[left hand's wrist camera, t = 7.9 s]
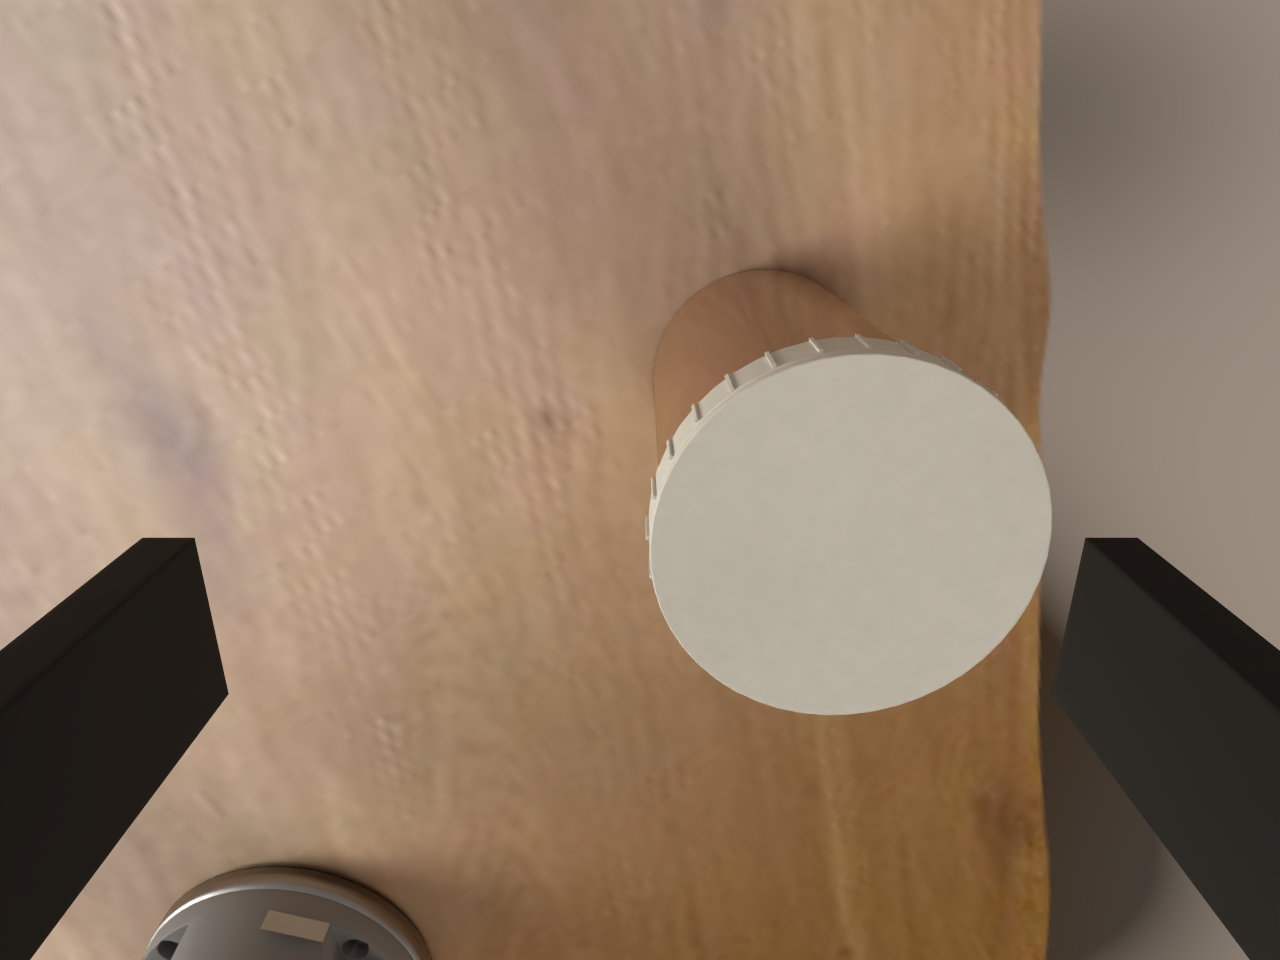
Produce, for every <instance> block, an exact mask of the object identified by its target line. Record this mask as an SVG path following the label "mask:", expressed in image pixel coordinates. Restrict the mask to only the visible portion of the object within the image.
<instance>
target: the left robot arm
mask: <svg viewBox="0 0 1280 960" xmlns="http://www.w3.org/2000/svg"><path fill="white" fill-rule="evenodd" d="M227 695H228V689H227V685H226V680H225V676H224V671H223V666H222V662H221V657H220V653H219V648H218V644H217V639H216V634H215V630H214V625H213V621H212V616H211V611H210V607H209V602H208V598H207V593H206V589H205V584H204V579H203V575H202V570H201V566H200V561H199V556H198V552H197V547H196V543H195V538H142V539H140V540H139V541H138V542H137V543H135V544H134V545H133V546H132V547H130V548H129V549H128V550H127V551H125V552H124V553H123V554H122V555H120V556H119V557H118V558H117V559H115V560H114V561H113V562H111V563H110V564H109V565H108V566H106V567H105V568H104V569H103V570H101V571H100V572H99V573H98V574H96V575H95V576H94V577H93V578H91V579H90V580H89V581H88V582H86V583H85V584H84V585H82V586H81V587H80V588H79V589H77V590H76V591H75V592H74V593H72V594H71V595H70V596H69V597H67V598H66V599H65V600H64V601H62V602H61V603H60V604H59V605H57V606H56V607H55V608H54V609H52V610H51V611H50V612H48V613H47V614H46V615H45V616H43V617H42V618H41V619H40V620H38V621H37V622H36V623H35V624H33V625H32V626H31V627H30V628H28V629H27V630H26V631H25V632H23V633H22V634H21V635H20V636H18V637H17V638H16V639H14V640H13V641H12V642H11V643H9V644H8V645H7V646H6V647H4V648H3V649H2V650H1V651H0V960H30V959H31V958H32V956H33V955H34V954H35V952H36V951H37V950H38V948H39V947H40V946H41V944H42V943H43V942H44V940H45V939H46V938H47V936H48V935H49V934H50V932H51V931H52V930H53V928H54V927H55V926H56V924H57V923H58V922H59V920H60V919H61V918H62V916H63V915H64V914H65V912H66V911H67V910H68V908H69V907H70V906H71V904H72V903H73V902H74V900H75V899H76V898H77V896H78V895H79V894H80V892H81V891H82V889H83V888H84V887H85V885H86V884H87V883H88V881H89V880H90V879H91V877H92V876H93V875H94V873H95V872H96V871H97V869H98V868H99V867H100V865H101V864H102V863H103V861H104V860H105V859H106V857H107V856H108V855H109V853H110V852H111V851H112V849H113V848H114V847H115V845H116V844H117V843H118V841H119V840H120V839H121V837H122V836H123V835H124V833H125V832H126V831H127V829H128V828H129V827H130V825H131V824H132V823H133V821H134V820H135V819H136V817H137V816H138V814H139V813H140V812H141V810H142V809H143V808H144V806H145V805H146V804H147V802H148V801H149V800H150V798H151V797H152V796H153V794H154V793H155V792H156V790H157V789H158V788H159V786H160V785H161V784H162V782H163V781H164V780H165V778H166V777H167V776H168V774H169V773H170V772H171V770H172V769H173V768H174V766H175V765H176V764H177V762H178V761H179V760H180V758H181V757H182V756H183V754H184V753H185V752H186V750H187V749H188V748H189V746H190V745H191V743H192V742H193V741H194V739H195V738H196V737H197V735H198V734H199V733H200V731H201V730H202V729H203V727H204V726H205V725H206V723H207V722H208V721H209V719H210V718H211V717H212V715H213V714H214V713H215V711H216V710H217V709H218V707H219V706H220V705H221V703H222V702H223V701H224V699H225V698H226V697H227ZM1052 695H1053V697H1054V698H1055V699H1056V701H1057V702H1058V703H1059V705H1060V706H1061V707H1062V709H1063V710H1064V711H1065V713H1066V714H1067V715H1068V717H1069V718H1070V719H1071V721H1072V722H1073V723H1074V725H1075V726H1076V727H1077V729H1078V730H1079V731H1080V733H1081V734H1082V735H1083V737H1084V738H1085V739H1086V741H1087V742H1088V743H1089V745H1090V746H1091V747H1092V749H1093V750H1094V752H1095V753H1096V754H1097V756H1098V757H1099V758H1100V759H1101V761H1102V762H1103V764H1104V765H1105V766H1106V768H1107V769H1108V770H1109V772H1110V773H1111V774H1112V776H1113V777H1114V778H1115V780H1116V781H1117V782H1118V784H1119V785H1120V786H1121V788H1122V789H1123V790H1124V792H1125V793H1126V794H1127V796H1128V797H1129V798H1130V800H1131V801H1132V802H1133V804H1134V805H1135V806H1136V808H1137V809H1138V810H1139V812H1140V813H1141V814H1142V816H1143V817H1144V819H1145V820H1146V821H1147V823H1148V824H1149V825H1150V827H1151V828H1152V829H1153V831H1154V832H1155V833H1156V834H1157V836H1158V837H1159V839H1160V840H1161V841H1162V843H1163V844H1164V845H1165V847H1166V848H1167V849H1168V851H1169V852H1170V853H1171V855H1172V856H1173V857H1174V859H1175V860H1176V861H1177V863H1178V864H1179V865H1180V867H1181V868H1182V869H1183V871H1184V872H1185V873H1186V875H1187V876H1188V877H1189V879H1190V880H1191V881H1192V883H1193V884H1194V885H1195V887H1196V888H1197V889H1198V891H1199V892H1200V894H1201V895H1202V896H1203V897H1204V899H1205V900H1206V902H1207V903H1208V904H1209V906H1210V907H1211V908H1212V910H1213V911H1214V912H1215V914H1216V915H1217V916H1218V918H1219V919H1220V920H1221V922H1222V923H1223V924H1224V926H1225V927H1226V928H1227V930H1228V931H1229V932H1230V934H1231V935H1232V936H1233V938H1234V939H1235V940H1236V942H1237V943H1238V944H1239V946H1240V947H1241V948H1242V950H1243V951H1244V952H1245V954H1246V955H1247V956H1248V958H1249V959H1250V960H1280V651H1279V650H1278V649H1277V648H1276V647H1274V646H1273V645H1272V644H1271V643H1269V642H1268V641H1267V640H1266V639H1264V638H1263V637H1262V636H1260V635H1259V634H1258V633H1257V632H1255V631H1254V630H1253V629H1252V628H1250V627H1249V626H1248V625H1247V624H1245V623H1244V622H1243V621H1242V620H1240V619H1239V618H1238V617H1237V616H1235V615H1234V614H1233V613H1231V612H1230V611H1229V610H1228V609H1226V608H1225V607H1224V606H1223V605H1221V604H1220V603H1219V602H1218V601H1216V600H1215V599H1214V598H1213V597H1211V596H1210V595H1209V594H1208V593H1206V592H1205V591H1204V590H1203V589H1201V588H1200V587H1199V586H1198V585H1196V584H1195V583H1194V582H1192V581H1191V580H1190V579H1189V578H1187V577H1186V576H1185V575H1184V574H1182V573H1181V572H1180V571H1179V570H1177V569H1176V568H1175V567H1174V566H1172V565H1171V564H1170V563H1169V562H1167V561H1166V560H1165V559H1164V558H1162V557H1161V556H1160V555H1158V554H1157V553H1156V552H1155V551H1153V550H1152V549H1151V548H1150V547H1148V546H1147V545H1146V544H1145V543H1143V542H1142V541H1141V540H1140V539H1138V538H1085V543H1084V547H1083V552H1082V557H1081V561H1080V566H1079V570H1078V575H1077V579H1076V584H1075V589H1074V593H1073V598H1072V602H1071V607H1070V612H1069V616H1068V621H1067V625H1066V630H1065V635H1064V639H1063V644H1062V648H1061V653H1060V657H1059V662H1058V666H1057V671H1056V676H1055V680H1054V685H1053V689H1052ZM142 960H431V957H430V954H429V951H428V949H427V947H426V945H425V943H424V941H423V939H422V938H421V936H420V935H419V933H418V931H417V930H416V929H415V928H414V926H413V925H412V924H411V923H410V922H409V921H408V920H407V918H406V917H405V916H404V915H403V914H402V913H400V912H399V911H398V910H397V909H396V908H395V907H393V906H392V905H391V904H389V903H388V902H387V901H385V900H384V899H383V898H381V897H379V896H378V895H376V894H374V893H373V892H371V891H369V890H367V889H365V888H363V887H361V886H359V885H357V884H355V883H352V882H350V881H347V880H345V879H342V878H339V877H336V876H333V875H330V874H326V873H322V872H318V871H313V870H307V869H301V868H291V867H258V868H250V869H243V870H238V871H233V872H230V873H226V874H223V875H220V876H217V877H214V878H212V879H210V880H207V881H205V882H203V883H201V884H199V885H198V886H196V887H194V888H193V889H191V890H190V891H188V892H187V893H186V894H184V895H183V896H182V897H181V898H180V899H179V900H178V901H177V902H176V903H175V904H174V905H173V906H172V907H171V908H170V910H169V911H168V913H167V914H166V916H165V917H164V919H163V920H162V922H161V924H160V925H159V927H158V929H157V930H156V932H155V934H154V935H153V937H152V939H151V941H150V942H149V944H148V946H147V949H146V952H145V954H144V957H143V959H142Z"/></svg>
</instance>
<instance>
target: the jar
mask: <svg viewBox="0 0 1280 960" xmlns="http://www.w3.org/2000/svg"><path fill="white" fill-rule="evenodd" d="M855 334H860V335H861V336H862V337H866V338H875V339H884V340H889V341H893V342H896V341H894V340H893V339H892V338H890V337H889V336H888V335H886V334H885V333H884V332H882V331H881V330H880V329H879V328H877V327H876V326H875V325H873V324H872V323H871V322H869V321H868V320H867V319H865V318H864V317H863V316H861V315H860V314H859V313H857V312H856V311H855V310H853V309H852V308H851V307H850V306H848V305H847V304H846V303H844V302H843V301H842V300H840V299H839V298H838V297H836V296H835V295H834V294H832V293H831V292H830V291H828V290H827V289H826V288H824V287H823V286H821V285H820V284H818V283H816V282H814V281H813V280H811V279H808V278H806V277H803V276H801V275H798V274H794V273H790V272H786V271H780V270H771V269H767V270H751V271H744V272H739V273H736V274H733V275H729V276H726V277H724V278H722V279H719V280H717V281H715V282H713V283H711V284H709V285H708V286H706V287H704V288H703V289H701V290H700V291H699V292H697V293H696V294H695V295H694V296H692V297H691V298H690V299H689V300H688V301H687V302H686V303H685V304H684V305H683V306H682V307H681V308H680V309H679V310H678V311H677V313H676V314H675V315H674V317H673V318H672V319H671V321H670V322H669V324H668V326H667V328H666V330H665V331H664V333H663V335H662V338H661V340H660V343H659V345H658V349H657V353H656V357H655V361H654V369H653V392H654V407H655V422H656V438H657V453H658V467H659V465H660V462H661V460H662V457H663V455H664V453H665V450H666V448H667V443H666V442H667V440H668V439H672V438H673V436H674V434H675V433H676V431H677V429H678V428H679V426H680V425H681V423H682V422H683V421H684V420H685V418H686V417H687V416H688V414H689V413H690V412H691V411H692V408H691V406H692V405H693V404H695V405H697V404H698V403H699V402H700V401H701V400H702V399H703V398H704V397H705V396H706V395H707V394H708V393H709V392H710V391H711V390H712V389H713V388H714V387H716V386H717V385H718V384H720V383H721V382H722V381H724V380H725V377H724V376H725V375H726V374H729V376H730V375H731V374H733V373H734V372H736V371H738V370H739V369H741V368H743V367H744V366H746V365H748V364H750V363H751V362H753V361H755V360H757V359H759V358H761V357H763V356H765V352H767V351H769V353H770V354H771V353H773V352H775V351H778V350H780V349H783V348H786V347H790V346H793V345H797V344H800V343H804V342H807V341H809V338H814V339H815V340H820V339H827V338H834V337H855Z"/></svg>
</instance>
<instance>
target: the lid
mask: <svg viewBox="0 0 1280 960" xmlns="http://www.w3.org/2000/svg"><path fill="white" fill-rule="evenodd" d="M962 370H963V369H962V368H960V367H959V366H958V365H956V364H955V363H953V362H952V361H950V360H949V359H947V358H946V357H944V356H943V355H941V356H940V358H938V357H937V356H935V355H933V354H930V353H928V352H925V351H923V350H920V349H918V348H915V347H913V346H911V345H910V344H908V343H907V342H906V341H904V340H900V341H899V343H897V342H893V341H889V340H884V339H875V338H866V337H862V336H861V335H860V334H855V337H834V338H827V339H820V340H815V339H814V338H809V341H807V342H804V343H800V344H797V345H793V346H790V347H786V348H783V349H780V350H778V351H775V352H773V353H771V354H770V353H769V351H767V352H765V356H763V357H761V358H759V359H757V360H755V361H753V362H751V363H750V364H748V365H746V366H744V367H743V368H741V369H739V370H738V371H736V372H734V373H733V374H731V375H730V376H729V374H726V375H725V376H724V377H725V380H724V381H722V382H721V383H720V384H718V385H717V386H716V387H714V388H713V389H712V390H711V391H710V392H709V393H708V394H707V395H706V396H705V397H704V398H703V399H702V400H701V401H700V402H699V403H698V404H697V405H695V404H693V405H692V406H691V408H692V411H691V412H690V413H689V414H688V416H687V417H686V418H685V420H684V421H683V422H682V423H681V425H680V426H679V428H678V429H677V431H676V433H675V434H674V436H673V438H672V439H668V440H667V442H666V443H667V448H666V450H665V453H664V455H663V457H662V460H661V462H660V465H659V467H658V469H657V473H656V477H652V479H651V491H652V492H651V500H650V508H649V516H646V518H645V521H646V540H649V545H650V554H649V576H650V579H652V580H653V586H654V590H655V593H656V596H657V599H658V602H659V605H660V608H661V611H662V613H663V615H664V617H665V619H666V621H667V623H668V625H669V627H670V629H671V631H672V632H673V634H674V635H675V636H676V638H677V639H678V641H679V642H680V644H681V645H682V647H683V648H684V649H685V650H686V651H687V652H688V654H689V655H690V656H691V657H692V658H693V659H694V660H695V661H696V662H697V663H698V664H699V665H700V666H701V667H702V668H703V669H705V670H706V671H707V672H708V673H709V674H711V675H712V676H713V677H714V678H715V679H717V680H718V681H720V682H721V683H723V684H725V685H726V686H728V687H729V688H731V689H733V690H734V691H736V692H738V693H740V694H742V695H744V696H747V697H749V698H751V699H753V700H755V701H758V702H761V703H764V704H767V705H770V706H773V707H776V708H780V709H785V710H790V711H794V712H799V713H808V714H819V715H849V714H857V713H864V712H872V711H877V710H881V709H885V708H890V707H894V706H898V705H900V704H903V703H906V702H909V701H912V700H915V699H918V698H920V697H922V696H925V695H927V694H929V693H931V692H933V691H935V690H937V689H939V688H941V687H943V686H945V685H947V684H948V683H950V682H951V681H953V680H955V679H956V678H958V677H960V676H961V675H963V674H964V673H966V672H967V671H968V670H970V669H971V668H972V667H973V666H975V665H976V664H977V663H979V662H980V661H981V660H983V659H984V658H985V657H986V656H987V655H988V654H989V653H990V652H991V651H992V650H993V649H994V648H995V647H996V646H997V645H998V644H999V643H1000V642H1001V641H1002V640H1003V639H1004V638H1005V636H1006V635H1007V634H1008V633H1009V631H1010V630H1011V629H1012V628H1013V627H1014V625H1015V624H1016V623H1017V621H1018V620H1019V618H1020V617H1021V615H1022V613H1023V612H1024V610H1025V609H1026V607H1027V606H1028V604H1029V602H1030V600H1031V598H1032V596H1033V594H1034V592H1035V590H1036V588H1037V586H1038V584H1039V581H1040V579H1041V576H1042V573H1043V569H1044V566H1045V563H1046V560H1047V556H1048V551H1049V545H1050V539H1051V530H1052V505H1051V497H1050V489H1049V484H1048V480H1047V476H1046V473H1045V469H1044V466H1043V462H1042V460H1041V458H1040V456H1039V454H1038V452H1037V449H1036V447H1035V445H1034V443H1033V441H1032V439H1031V438H1030V436H1029V435H1028V433H1027V432H1026V430H1025V427H1024V426H1023V425H1022V424H1021V423H1020V421H1019V420H1018V419H1017V418H1016V417H1015V416H1014V414H1013V413H1012V412H1011V411H1010V410H1009V409H1008V408H1007V407H1006V406H1005V405H1004V404H1003V403H1002V402H1001V401H1000V400H999V399H998V398H997V397H998V394H997V393H995V392H994V391H993V390H991V389H990V388H988V387H987V386H985V385H984V384H982V383H981V382H979V381H978V380H977V379H976V380H975V381H974V380H973V379H971V378H970V377H968V376H967V375H966V374H964V373H963V372H961V371H962Z"/></svg>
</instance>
